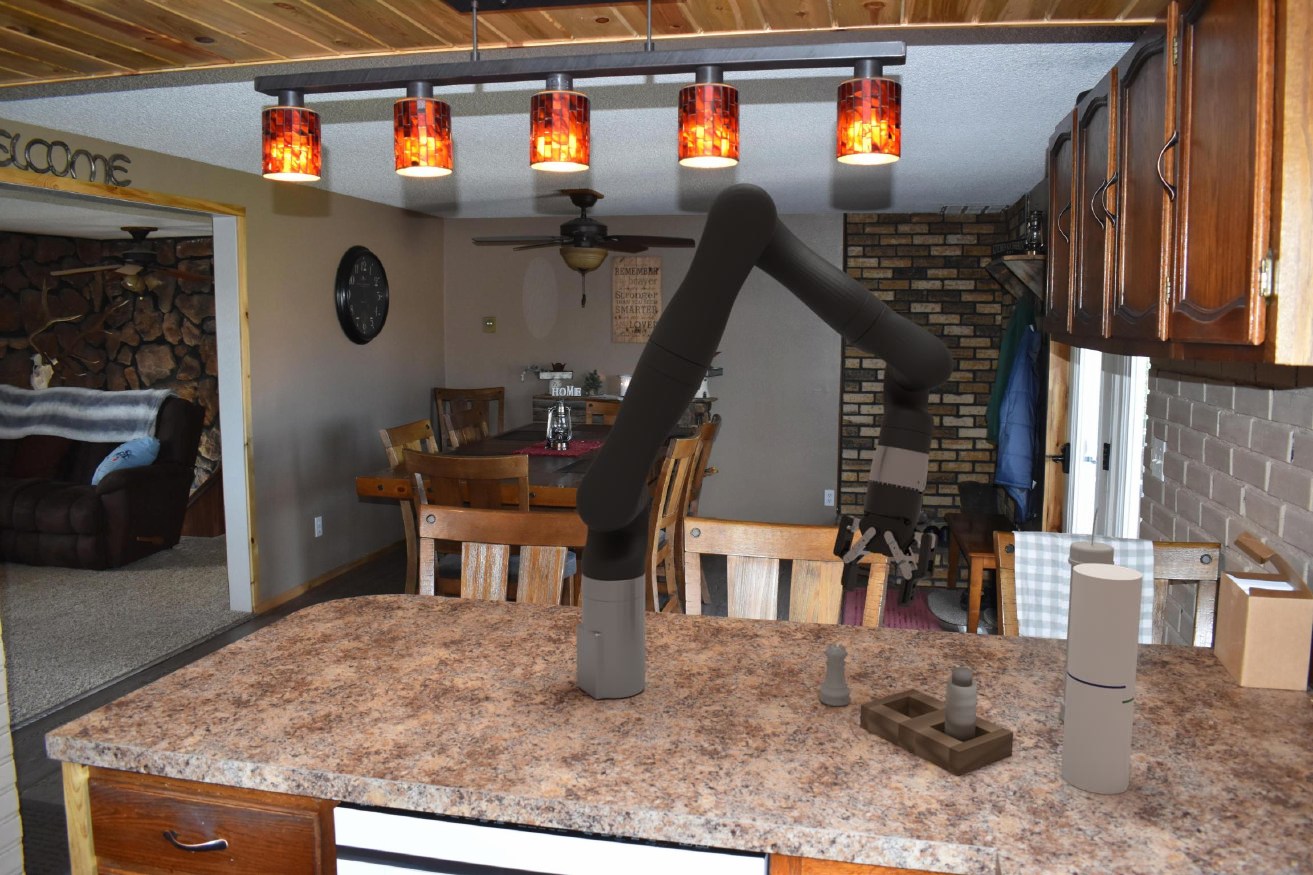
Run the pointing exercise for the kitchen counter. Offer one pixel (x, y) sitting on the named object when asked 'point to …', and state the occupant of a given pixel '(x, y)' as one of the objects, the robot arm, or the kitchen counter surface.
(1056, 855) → the kitchen counter surface
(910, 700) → the holder
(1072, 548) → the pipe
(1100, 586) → the cylindrical container
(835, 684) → the rook chess piece
